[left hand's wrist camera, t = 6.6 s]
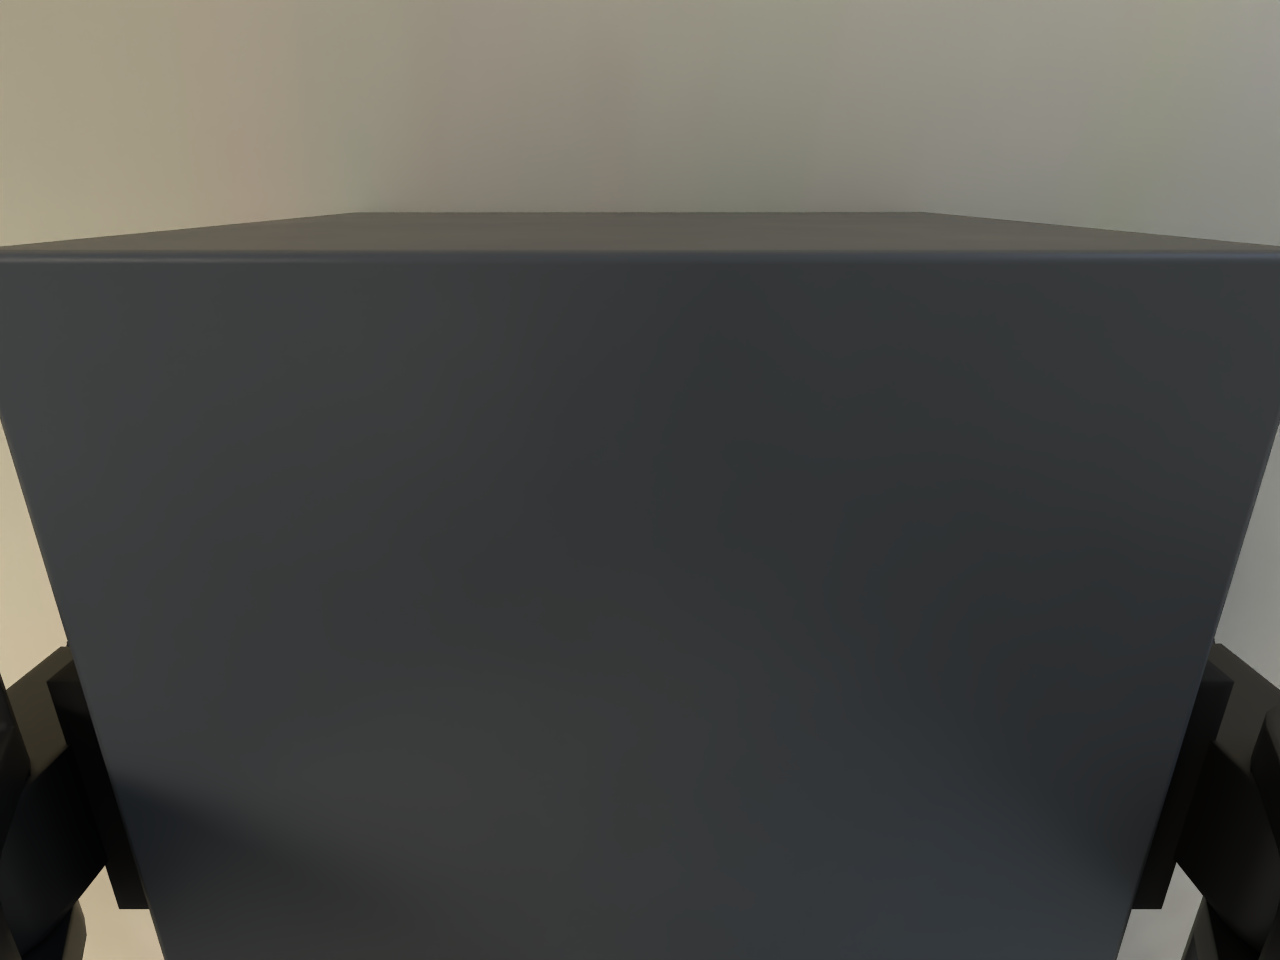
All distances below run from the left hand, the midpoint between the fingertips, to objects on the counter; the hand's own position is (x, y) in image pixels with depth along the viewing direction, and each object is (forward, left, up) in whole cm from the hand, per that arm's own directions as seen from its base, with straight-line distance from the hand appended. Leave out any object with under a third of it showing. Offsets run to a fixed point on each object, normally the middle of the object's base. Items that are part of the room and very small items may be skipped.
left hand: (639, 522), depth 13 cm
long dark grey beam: (+18, -13, 0) cm, 22 cm away
